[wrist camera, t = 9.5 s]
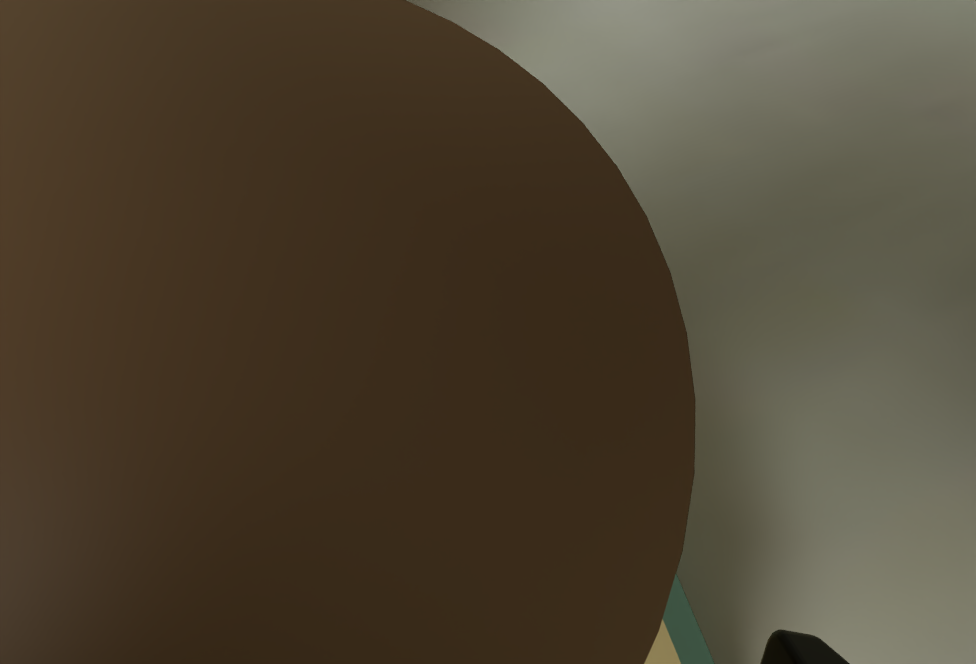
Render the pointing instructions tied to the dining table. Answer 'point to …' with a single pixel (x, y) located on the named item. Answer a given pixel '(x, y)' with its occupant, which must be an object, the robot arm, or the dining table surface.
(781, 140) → the dining table surface
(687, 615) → the carrier plate
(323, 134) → the walnut dowel
